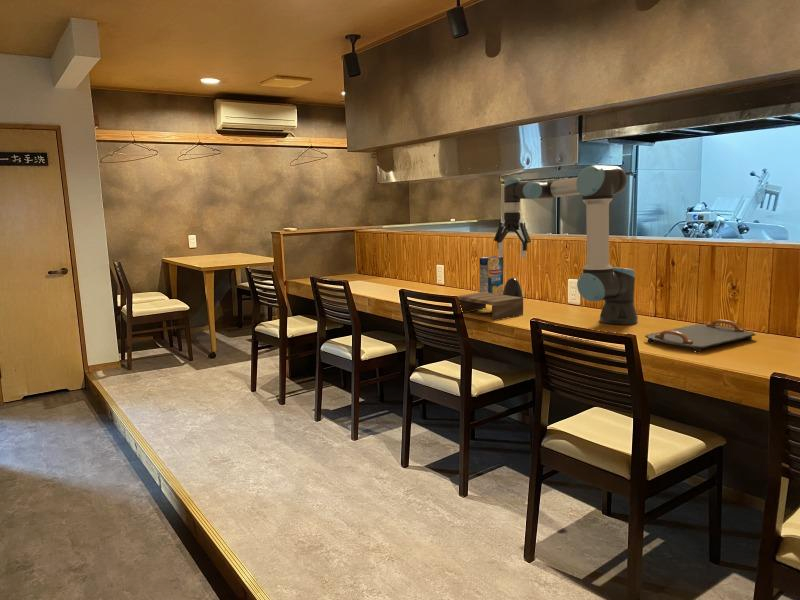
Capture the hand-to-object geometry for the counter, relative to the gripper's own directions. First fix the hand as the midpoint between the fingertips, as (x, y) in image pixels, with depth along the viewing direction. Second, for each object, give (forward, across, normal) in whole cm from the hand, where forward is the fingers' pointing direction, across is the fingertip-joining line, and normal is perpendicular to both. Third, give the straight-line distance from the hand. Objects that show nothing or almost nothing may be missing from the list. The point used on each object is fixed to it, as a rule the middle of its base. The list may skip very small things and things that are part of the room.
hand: (511, 256), depth 287 cm
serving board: (+25, -92, +6) cm, 95 cm away
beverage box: (+26, +30, -20) cm, 44 cm away
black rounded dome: (+26, 0, -1) cm, 26 cm away
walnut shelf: (+25, 0, +16) cm, 30 cm away
